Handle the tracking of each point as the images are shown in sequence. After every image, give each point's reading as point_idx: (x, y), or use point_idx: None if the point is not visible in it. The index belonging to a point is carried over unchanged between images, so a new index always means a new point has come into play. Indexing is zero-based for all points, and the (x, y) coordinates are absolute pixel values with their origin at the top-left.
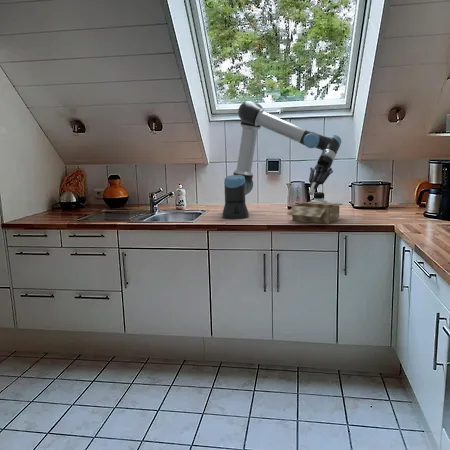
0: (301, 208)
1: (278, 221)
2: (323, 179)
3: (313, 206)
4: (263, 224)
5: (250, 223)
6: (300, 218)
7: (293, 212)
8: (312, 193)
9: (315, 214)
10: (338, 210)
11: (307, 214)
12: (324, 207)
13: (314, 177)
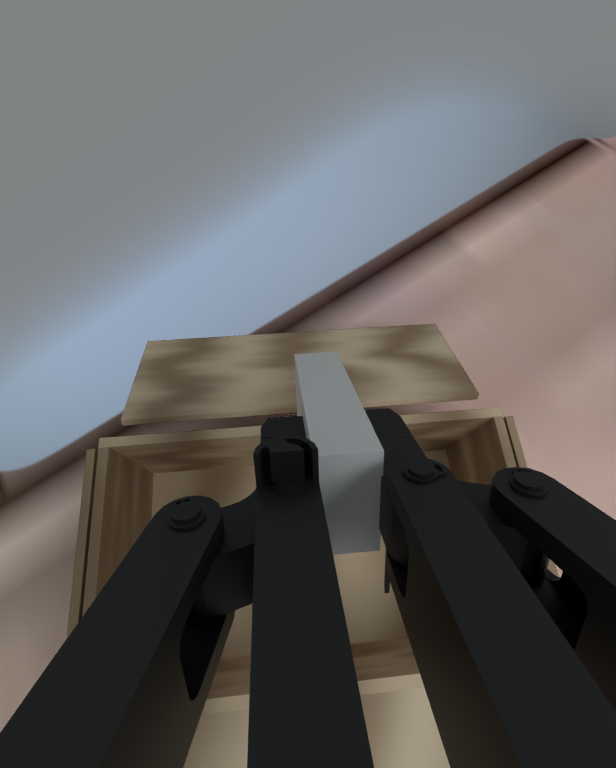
0: (366, 381)
1: (487, 356)
2: (111, 617)
3: (416, 664)
4: (478, 242)
5: (554, 227)
6: None
7: (396, 340)
8: (297, 403)
9: (195, 354)
10: None
11: (264, 344)
12: None
13: (483, 590)
